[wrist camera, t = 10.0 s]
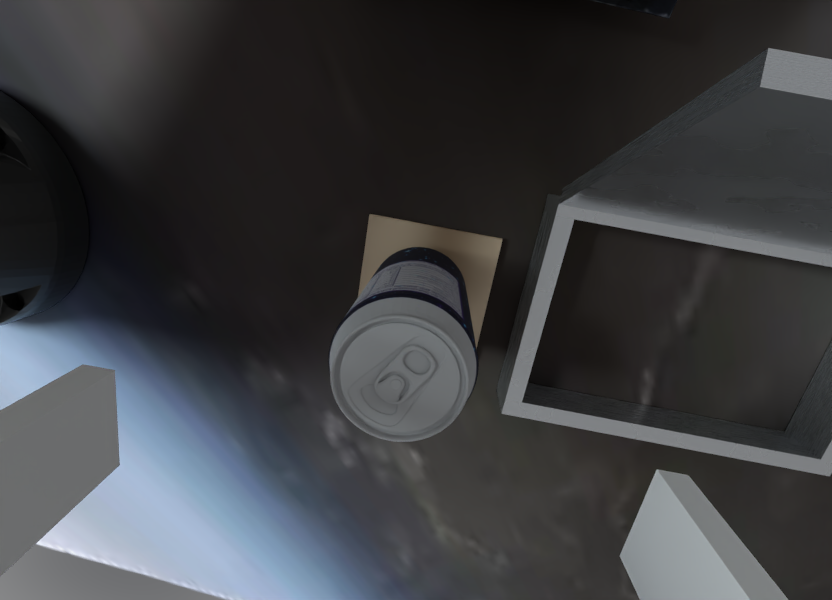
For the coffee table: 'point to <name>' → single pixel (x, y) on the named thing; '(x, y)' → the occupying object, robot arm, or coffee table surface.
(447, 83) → the coffee table surface
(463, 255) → the pad
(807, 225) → the case
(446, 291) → the beverage can
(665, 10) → the vintage camera
